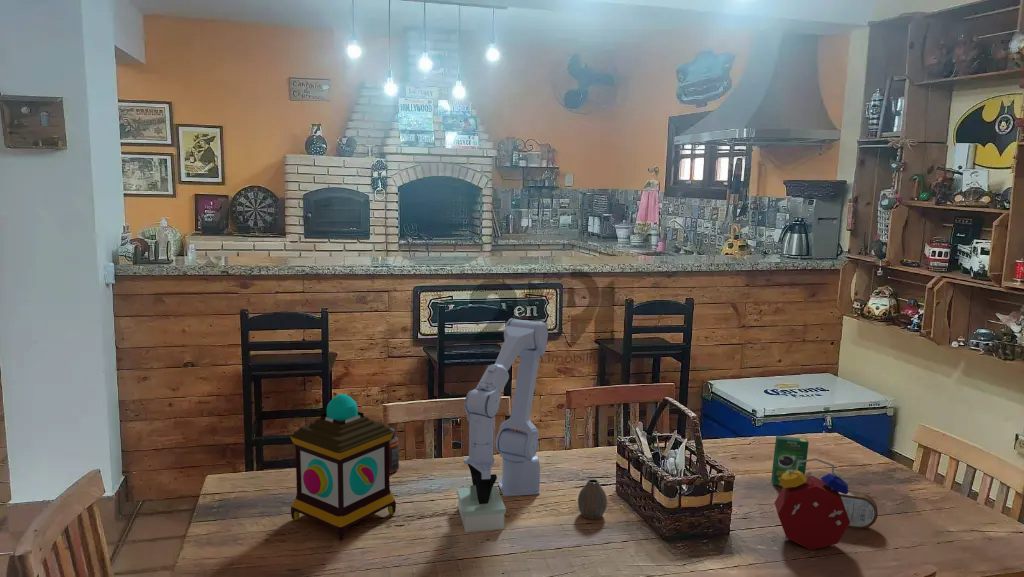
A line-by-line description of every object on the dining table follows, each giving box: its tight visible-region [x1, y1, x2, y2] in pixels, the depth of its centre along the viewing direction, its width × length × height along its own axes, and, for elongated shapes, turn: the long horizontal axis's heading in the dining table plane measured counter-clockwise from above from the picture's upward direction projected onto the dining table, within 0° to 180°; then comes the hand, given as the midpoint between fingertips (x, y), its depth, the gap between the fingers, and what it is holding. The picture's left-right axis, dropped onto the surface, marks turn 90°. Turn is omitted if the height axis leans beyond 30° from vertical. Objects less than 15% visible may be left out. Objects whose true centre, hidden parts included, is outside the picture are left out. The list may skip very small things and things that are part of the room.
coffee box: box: [771, 435, 809, 487], centre depth 190 cm, size 8×3×13 cm, turn 79°
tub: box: [457, 497, 505, 533], centre depth 170 cm, size 9×12×4 cm
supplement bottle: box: [389, 427, 400, 474], centre depth 196 cm, size 6×6×11 cm
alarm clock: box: [774, 458, 850, 551], centre depth 158 cm, size 15×9×20 cm, turn 77°
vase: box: [577, 478, 608, 520], centre depth 172 cm, size 7×7×9 cm
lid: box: [456, 484, 507, 516], centre depth 169 cm, size 10×13×5 cm
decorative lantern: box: [289, 393, 397, 542], centre depth 167 cm, size 20×20×30 cm
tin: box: [839, 489, 879, 530], centre depth 170 cm, size 15×3×8 cm, turn 71°
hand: (480, 495), depth 169 cm, fingers open, 7 cm apart
